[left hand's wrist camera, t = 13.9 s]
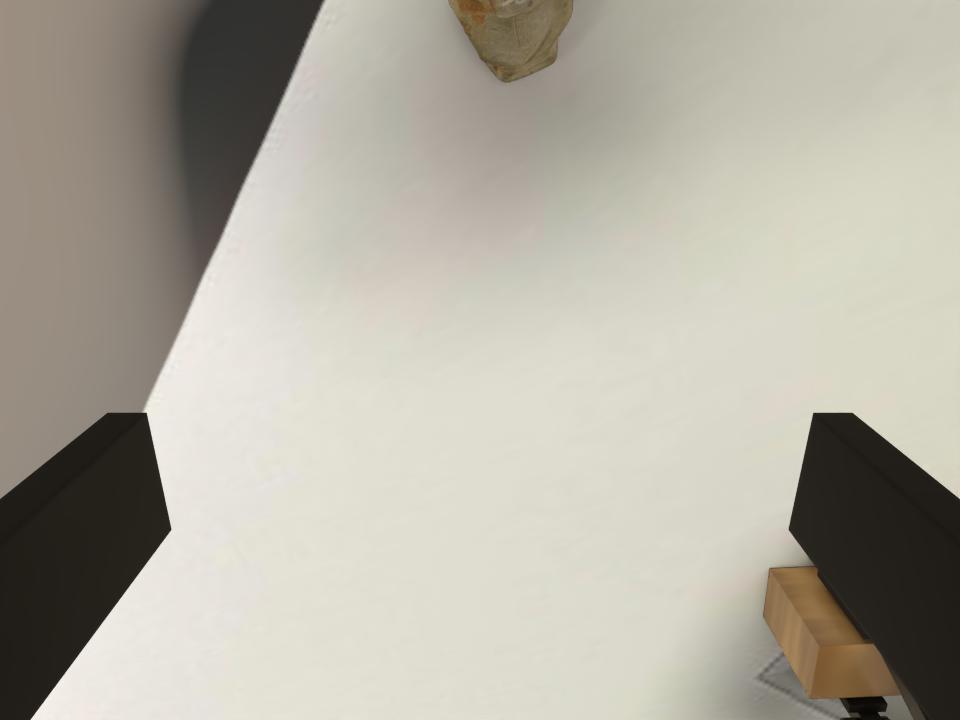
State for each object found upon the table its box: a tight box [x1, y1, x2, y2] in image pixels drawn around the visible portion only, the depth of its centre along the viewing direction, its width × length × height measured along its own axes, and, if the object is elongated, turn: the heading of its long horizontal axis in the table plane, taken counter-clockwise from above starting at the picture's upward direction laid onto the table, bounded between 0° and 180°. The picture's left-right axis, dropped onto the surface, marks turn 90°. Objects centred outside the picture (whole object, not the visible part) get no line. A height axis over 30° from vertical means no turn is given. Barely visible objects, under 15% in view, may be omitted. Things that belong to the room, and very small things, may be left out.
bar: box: [763, 567, 901, 699], centre depth 49 cm, size 26×5×8 cm, turn 93°
